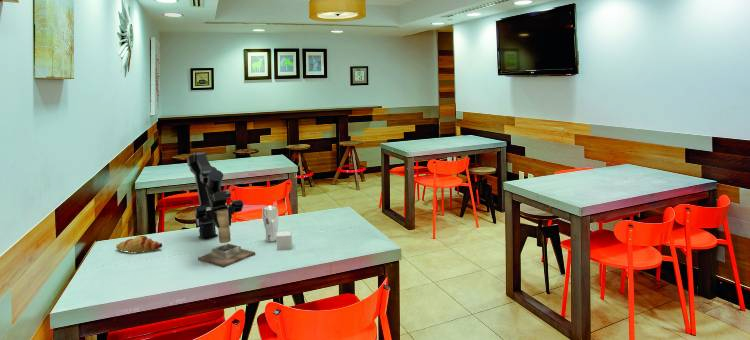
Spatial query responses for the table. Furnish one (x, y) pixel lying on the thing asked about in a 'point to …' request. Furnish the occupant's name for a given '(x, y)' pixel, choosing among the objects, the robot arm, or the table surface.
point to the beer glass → (270, 222)
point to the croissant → (139, 244)
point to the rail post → (223, 226)
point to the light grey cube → (284, 240)
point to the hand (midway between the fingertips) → (224, 226)
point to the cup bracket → (226, 255)
